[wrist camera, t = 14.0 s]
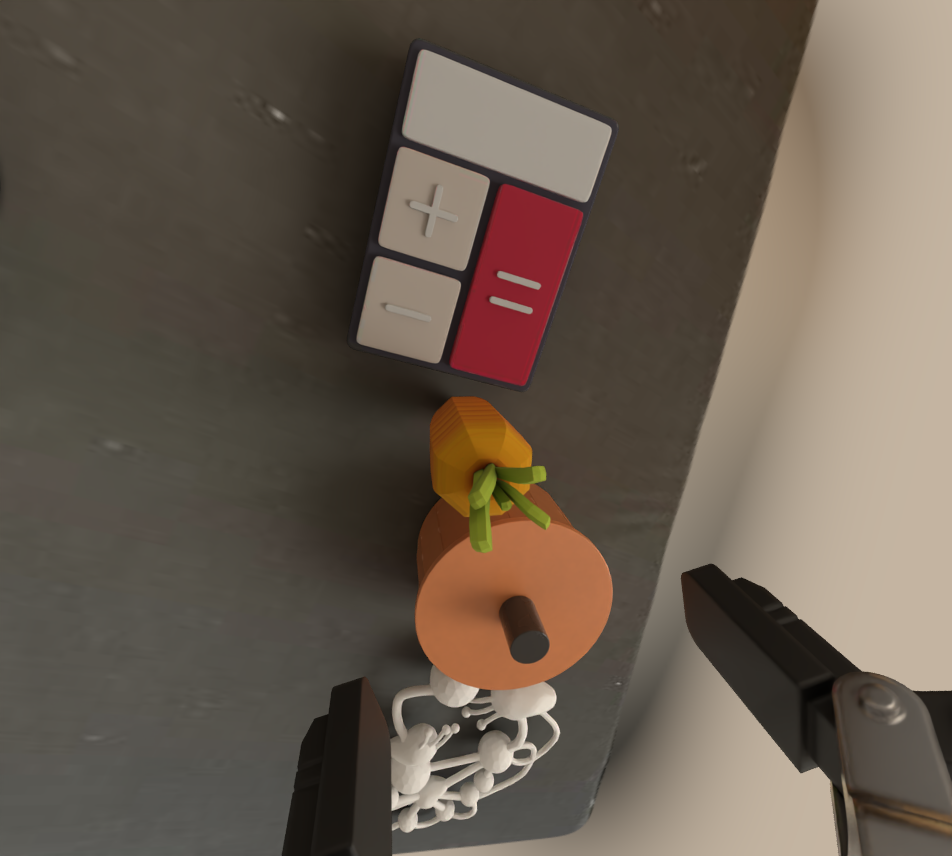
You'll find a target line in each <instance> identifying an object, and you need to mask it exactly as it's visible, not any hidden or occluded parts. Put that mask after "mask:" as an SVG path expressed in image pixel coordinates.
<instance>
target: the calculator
mask: <svg viewBox="0 0 952 856" xmlns="http://www.w3.org/2000/svg"><path fill="white" fill-rule="evenodd" d="M618 130H619V126H618V123H617V122H616V120H614V119H612V118H610V117H608V116H605V115H603V114H601V113H598V112H596V111H594V110H591V109H589V108H586V107H584V106H582V105H579V104H577V103H574V102H572V101H570V100H567V99H565V98H563V97H560V96H558V95H555V94H553V93H551V92H548V91H546V90H543V89H541V88H539V87H536V86H534V85H532V84H529V83H527V82H524V81H522V80H520V79H517V78H515V77H512V76H510V75H508V74H505V73H503V72H501V71H498V70H496V69H493V68H491V67H489V66H486V65H484V64H481V63H479V62H477V61H474V60H472V59H470V58H467V57H465V56H462V55H460V54H458V53H455V52H453V51H450V50H448V49H446V48H443V47H441V46H439V45H436V44H434V43H431V42H429V41H426V40H424V39H421V38H417V39H414V40H413V41H412V43H411V44H410V48H409V52H408V56H407V61H406V66H405V70H404V75H403V80H402V84H401V89H400V94H399V98H398V103H397V108H396V112H395V117H394V122H393V126H392V131H391V135H390V140H389V145H388V149H387V154H386V159H385V163H384V168H383V173H382V177H381V182H380V187H379V191H378V196H377V201H376V205H375V210H374V215H373V219H372V224H371V229H370V233H369V238H368V243H367V247H366V252H365V257H364V261H363V266H362V271H361V275H360V280H359V285H358V289H357V294H356V299H355V303H354V308H353V313H352V317H351V322H350V327H349V331H348V336H347V344H348V345H349V347H350V348H352V349H355V350H358V351H362V352H366V353H370V354H374V355H378V356H382V357H386V358H390V359H394V360H397V361H401V362H405V363H409V364H413V365H417V366H421V367H425V368H429V369H432V370H436V371H440V372H444V373H448V374H452V375H456V376H460V377H464V378H468V379H471V380H475V381H479V382H483V383H487V384H491V385H495V386H499V387H503V388H507V389H510V390H514V391H518V392H525V391H527V390H528V389H529V388H530V385H531V383H532V380H533V377H534V374H535V371H536V368H537V365H538V362H539V360H540V357H541V354H542V351H543V348H544V345H545V342H546V339H547V336H548V334H549V331H550V328H551V325H552V322H553V319H554V316H555V313H556V310H557V308H558V305H559V302H560V299H561V296H562V293H563V290H564V287H565V284H566V282H567V279H568V276H569V273H570V270H571V267H572V264H573V261H574V258H575V256H576V253H577V250H578V247H579V244H580V241H581V238H582V235H583V232H584V230H585V227H586V224H587V221H588V218H589V215H590V212H591V209H592V206H593V204H594V201H595V198H596V195H597V192H598V189H599V186H600V183H601V180H602V178H603V175H604V172H605V169H606V166H607V163H608V160H609V157H610V154H611V152H612V149H613V146H614V143H615V140H616V137H617V134H618Z"/></svg>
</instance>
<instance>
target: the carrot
mask: <svg viewBox="0 0 952 856" xmlns="http://www.w3.org/2000/svg"><path fill="white" fill-rule="evenodd" d="M531 461H532V449H531V446H530V445H529V444H528V443H527V442H526V441H525V439H524V438H523V437H522V436H521V435H520V434H519V433H518V432H517V431H516V430H515V429H514V428H513V426H512V425H511V424H510V423H509V422H508V421H507V420H506V419H505V418H504V417H503V416H502V415H501V414H500V413H499V412H498V411H497V410H496V409H495V408H494V407H493V406H492V405H491V404H490V403H489V402H488V401H486V400H483V399H481V398H478V397H474V396H473V397H451V398H450V399H449V400H448V401H447V402H446V403H445V404H444V405H442V406H441V407H440V408H439V409H438V410H437V411H436V412H435V414H434V416H433V418H432V420H431V424H430V466H431V477H432V485H433V489H434V491H435V492H436V493H437V494H438V495H439V496H441V497H442V498H443V499H444V500H445V501H446V502H448V503H449V504H450V505H451V506H452V507H453V508H455V509H456V510H457V511H458V512H459V513H460V514H461V515H463V516H464V517H469V530H470V543H471V546H472V548H473V549H474V550H475V551H476V552H481V553H487V552H489V551H492V550H493V549H492V532H491V523H490V516H493V515H502V514H504V513H505V512H506V511H508V510H509V509H511V507H512V505H513V504H515V505H516V506H517V507H518V508H519V509H520V510H521V511H522V512H523V513H524V514H525V515H526V516H527V517H528V518H529V519H530V520H531V521H533V522H534V523H535V524H537V525H538V526H540V527H541V528H543V529H544V530H546V529H547V528H548V527H549V525H550V516H549V515H547V514H546V513H545V512H544V511H542V510H541V509H540V508H538V507H537V506H535V505H534V504H533V503H532V502H530V501H529V500H528V499H527V498H526V497H525V496H523V495H524V494H525V493H526V492H527V491H528V490H529V489H530V484H534V483H538V482H541V481H545V480H546V471H545V468H544V466H531Z"/></svg>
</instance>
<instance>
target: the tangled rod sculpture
mask: <svg viewBox="0 0 952 856" xmlns="http://www.w3.org/2000/svg"><path fill="white" fill-rule="evenodd" d="M478 690H479V688H475V687H471V686H468V685H465V684H462V683H460V682H457V681H455V680H453V679H452V678H450V677H448V676H446V675H445V674H444V673H443V672H441V671H440V670H439V669H437V668H436V666H435V665H433V666H432V669H431V674H430V684H428V685H418V686H411V687H408V688H405V689H402V690H401V691H399V692H398V693H397V694H396V695H395V698H394V700H393V705H392V717H393V722H394V726H395V729H396V731H397V733H398V736H395V737H393V738H391V739H390V742H391V757H392V759H391V783H392V785H393V786H392V811H393V810H396V809H398V808H401V807H403V806H406V805H409V804H411V803H414V804H413V805H412V806H411V807H408V808H404V809H403V810H402V811H401V812H400V814H399V816H398V822H396V823H394V824H392V830H395V829H397V828H399V827H400V829H401V830H402V831H404V832H410V831H412V830H413V829H414V828H416V829H419V828H425V827H428V826H431V825H433V824H435V823H437V822H439V821H440V820H441V821H448V820H450V819H451V818H455V819H468V818H470V817H472V816H473V815H474V814H475V813H476V811H477V803H476V802H477V801H478V800H479V799H481V798H483V797H485V796H488V795H490V794H492V793H494V792H497V791H499V790H501V789H503V788H505V787H507V786H509V785H511V784H513V783H515V782H516V781H518V780H519V779H521V778H522V777H524V776H525V775H526V773H527V772H528V771H529V769H530V768H531V766H532V764H533V762H534V761H535V760H537V759H538V758H539V757H541V756H542V755H543V754H545V753H546V752H547V751H548V750H549V749H550V748H551V747H552V746H553V745H554V744H555V743H556V741H557V740H558V737H559V734H560V729H559V727H558V725H557V723H556V722H555V720H554V719H553V718H552V717H551V716H550V715H549V714H548V713H547V712H546V711H548V710H550V709H551V708H552V707H554V705H555V703H556V694H555V691H554V689H553V688H552V687H551V686H549V685H548V684H547V683H545V682H541V683H538V684H535V685H531V686H528V687H524V688H518V689H512V690H491V697H483V698H474V697H475V696H476V694H477V692H478ZM425 695H434V696H435V697H436V698H437V699H438V700H439V701H440V702H441V703H443V704H445V705H447V706H449V707H460V706H464V705H466V704H468V703H469V702H470V703H487V702H491V703H492V705H491V706H489V707H486V708H483V709H478V710H473V709H470V708H469V707H464V708H463V709H462V715H463V716H464V717H466V718H468V717H469V716H470V715H480V714H485V713H488V712H490V711H493V710H495V711H496V712H497V713H495V714H493V715H491V716H490V717H488V718H486V719H485V720H484V719H480V720H478V721H477V728H478V729H479V730H484V729H485V728H486V725H487V724H488V723H490V722H491V721H493V720H495V719H497V718H499V717H505V718H507V719H510V720H517V721H518V728H519V731H518V734H517V737H516V738H515V739H514V740H513V741H511V740H510V738H509V737H508V736H507V735H506V734H505V733H503V732H501V731H498V730H493V731H489V732H487V733H486V734H484V735H483V737H482V738H481V740H480V742H479V745H478V752H477V753H473V754H468V755H464V756H459V757H455V758H450V759H446V760H441V761H437V762H432V763H430V760H431V759H432V758H433V756H434V755H435V753H436V751H437V749H438V748H440V747H441V746H442V745H443V744H444V743H445V742H446V741H447V740H448V739H449V738H450V737H451V735H452V734H453V733H455V734H456V733H458V731H459V729H460V727H459V725H458V724H456V723H455V724H453V725H452V726H451V729H450V726H449V725H444V726H443V727H442V731H441V732H440V733H439V735H438V736H437V733H436V730H435V729H434V728H433V727H432V726H430V725H429V724H425V723H419V724H417V725H415V726H413V727H411V728H410V729H408V730H407V729H406V727H405V725H404V723H403V719H402V715H401V712H402V703H403V701H404V700H405V699H408V698H411V697H416V696H425ZM538 714H540V715H541V716H542V717H543V718H544V719H545V720H546V721H547V722H548V723H549V724H550V725H551V726H552V727H553V729H554V734H553V737H552V738H551V739H550V740H549V742H548V743H547V744H545V745H544V746H543V747H542V748H541V749H540V750H539V751H537V750H536V747H535V746H534V745H533V744H532V743H531V742H524V741H525V739H526V736H527V729H528V726H527V720H526V717H530V716H534V715H538ZM444 735H446V736H445V737H444V738H443V740H442V741H440V740H441V738H442V737H443V736H444ZM439 741H440V742H439ZM438 742H439V743H438ZM525 748H528V749H531V755H530V756H529V757H527V758H522V759H515V758H513V753H514V751H516V750H519V749H525ZM476 761H477V762H476ZM472 762H475V763H473V764H472V765H470V766H468V767H466V768H465V769H463V770H461V771H459V772H458V773H456V774H454V775H452V776H451V777H449V778H447V779H445V778H443V777H440V776H436V775H430V773H431V771H436V770H440V769H445V768H449V767H454V766H458V765H463V764H467V763H472ZM510 764H513V765H518V766H521V765H525V766H524V767H523V769H522V770H521V771H520V772H519V773H518V774H516V775H515V776H513V777H511V778H509V779H507V780H505V781H503V782H501V783H499V784H497V785H495V786H493V784H494V777H493V774H492V773H501V772H504V771H505V770H506V769H507V768H508V767H509V766H510ZM483 767H484V768H483ZM476 771H477V772H476ZM474 772H476V773H475V775H474V783H473V782H466V783H464V784H463V785H462V787H461V788H460V792H454V791H446V790H447V788H448V787H450V786H451V785H453V784H455V783H457V782H458V781H460V780H462V779H464V778H466V777H467V776H469V775H471V774H473V773H474ZM398 791H399V792H401V793H402V794H405V795H401V796H399V794H398ZM479 791H480V792H479ZM438 799H439V800H438ZM452 800H460V801H461V802H462V803H463V804H464V805H465V806H468V807H470V806H472V810H470V811H469V812H467V813H456V812H454V810H455V806H454V803H453V801H452ZM432 806H433V807H434V808H435V813H436V815H437V816H436V817H434V818H433V819H430V820H428V821H425V822H417V821H418V816H417V812H418V810H419V809H420V808H422V809H428V808H431V807H432Z"/></svg>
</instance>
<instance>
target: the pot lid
mask: <svg viewBox="0 0 952 856" xmlns="http://www.w3.org/2000/svg"><path fill="white" fill-rule="evenodd" d="M491 532H492V549H493V550H492V551H489V552H487V553H481V552H476V551H475V550H474V549H473V548H472V546H471V543H470V532H468V533H466V534H465V535H463V536H462V537H460V538H459V539H457V540H456V541H454V542H453V543H452V544H451V545H449V546H448V547H447V548H446V549H445V550H444V551H443V552H442V553H441V554H440V555H439V556H438V557H437V558H436V559H435V561H434V562H433V564H432V565H431V566H430V568H429V569H428V571H427V573H426V574H425V576H424V578H423V580H422V582H421V585H420V588H419V590H418V593H417V598H416V603H415V625H416V632H417V636H418V640H419V643H420V645H421V647H422V649H423V651H424V653H425V654H426V656H427V657H428V658H429V660H430V661H431V662H432V663H433V664H434V665H435V666H436V668H437V669H439V670H440V671H441V672H443V673H444V674H445V675H446V676H448V677H450V678H452V679H453V680H455V681H457V682H460V683H462V684H465V685H468V686H471V687H475V688H480V689H487V690H512V689H518V688H524V687H528V686H531V685H535V684H538V683H541V682H543V681H546V680H548V679H550V678H552V677H554V676H556V675H558V674H560V673H562V672H563V671H565V670H566V669H568V668H569V667H571V666H572V665H573V664H574V663H576V662H577V661H578V660H579V659H580V658H581V657H583V656H584V655H585V654H586V653H587V652H588V650H589V649H590V648H591V647H592V646H593V644H594V643H595V642H596V640H597V639H598V637H599V636H600V634H601V633H602V631H603V628H604V626H605V624H606V622H607V619H608V616H609V613H610V609H611V604H612V593H613V589H612V580H611V576H610V572H609V569H608V566H607V564H606V562H605V560H604V558H603V557H602V555H601V554H600V552H599V551H598V549H597V548H596V547H595V545H594V544H593V543H592V542H591V541H590V540H589V539H588V538H587V537H585V536H584V535H583V534H582V533H580V532H579V531H577V530H576V529H574V528H572V527H570V526H568V525H566V524H563V523H561V522H558V521H554V520H550V525H549V527H548V528H547V529H546V530H544V529H543V528H541V527H540V526H538V525H537V524H535V523H534V522H533V521H531V520H530V519H529V518H528V517H515V518H507V519H502V520H498V521H494V522H491Z"/></svg>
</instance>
